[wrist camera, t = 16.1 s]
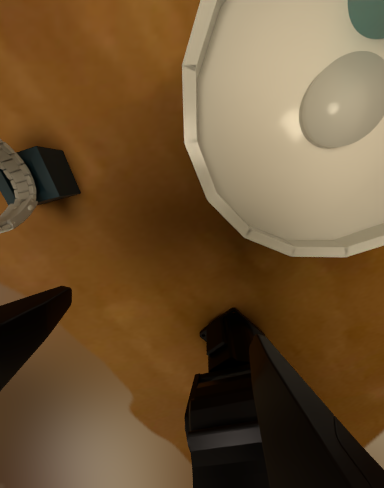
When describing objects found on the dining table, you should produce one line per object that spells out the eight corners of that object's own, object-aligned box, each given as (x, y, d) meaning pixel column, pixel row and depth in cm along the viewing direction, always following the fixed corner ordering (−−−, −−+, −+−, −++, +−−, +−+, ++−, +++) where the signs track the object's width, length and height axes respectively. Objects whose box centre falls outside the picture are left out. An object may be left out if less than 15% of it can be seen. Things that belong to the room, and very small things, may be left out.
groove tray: (562, 101, 15) (645, 83, 12) (294, 285, 22) (307, 301, 19) (408, -279, 10) (488, -458, 7) (132, 120, 17) (117, 109, 15)
